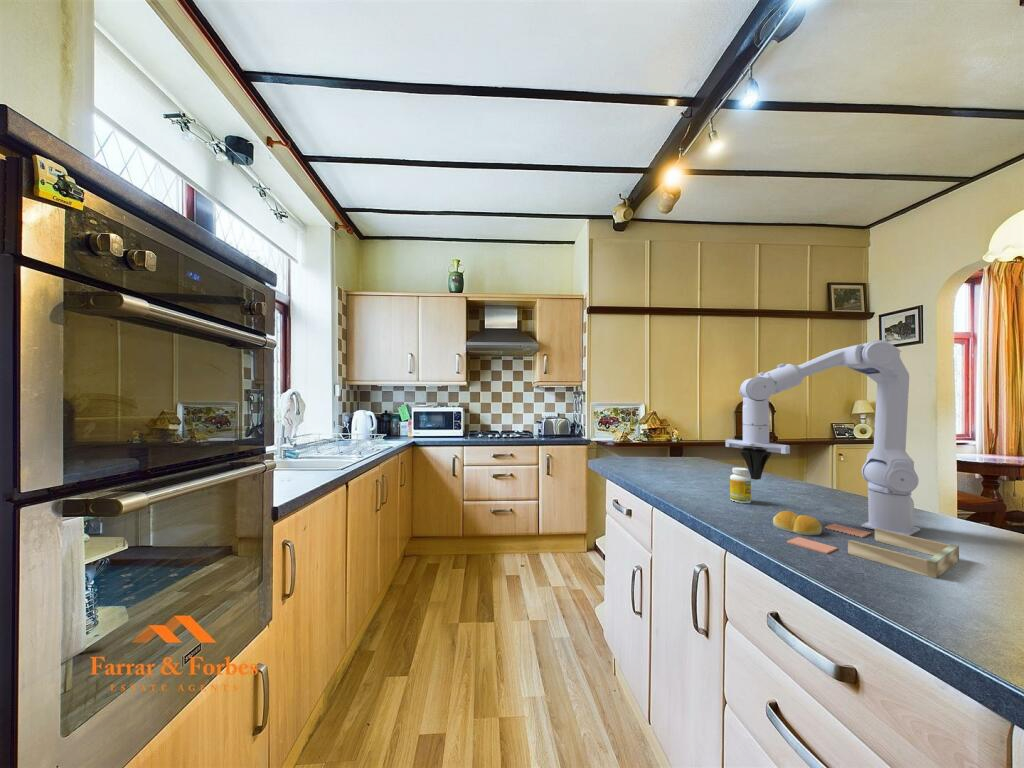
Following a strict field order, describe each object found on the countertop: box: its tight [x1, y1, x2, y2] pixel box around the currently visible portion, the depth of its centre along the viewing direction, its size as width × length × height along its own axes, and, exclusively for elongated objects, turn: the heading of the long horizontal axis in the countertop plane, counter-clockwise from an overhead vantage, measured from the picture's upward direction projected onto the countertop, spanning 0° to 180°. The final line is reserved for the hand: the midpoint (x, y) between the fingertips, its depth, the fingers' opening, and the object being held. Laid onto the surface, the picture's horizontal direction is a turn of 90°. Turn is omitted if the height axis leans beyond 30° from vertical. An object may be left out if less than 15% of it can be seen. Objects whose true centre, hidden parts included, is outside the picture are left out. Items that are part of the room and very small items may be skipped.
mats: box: [786, 523, 872, 555], centre depth 86 cm, size 23×7×1 cm, turn 121°
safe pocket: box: [847, 528, 960, 579], centre depth 76 cm, size 15×12×3 cm
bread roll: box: [772, 510, 823, 536], centre depth 92 cm, size 8×9×4 cm
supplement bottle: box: [729, 467, 752, 504], centre depth 115 cm, size 5×5×10 cm
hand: (755, 478), depth 99 cm, fingers closed
